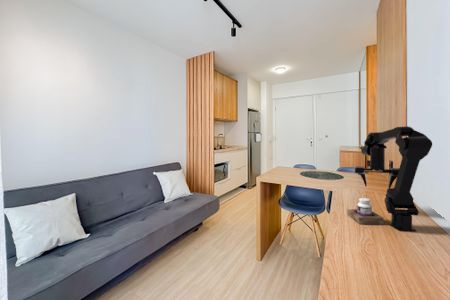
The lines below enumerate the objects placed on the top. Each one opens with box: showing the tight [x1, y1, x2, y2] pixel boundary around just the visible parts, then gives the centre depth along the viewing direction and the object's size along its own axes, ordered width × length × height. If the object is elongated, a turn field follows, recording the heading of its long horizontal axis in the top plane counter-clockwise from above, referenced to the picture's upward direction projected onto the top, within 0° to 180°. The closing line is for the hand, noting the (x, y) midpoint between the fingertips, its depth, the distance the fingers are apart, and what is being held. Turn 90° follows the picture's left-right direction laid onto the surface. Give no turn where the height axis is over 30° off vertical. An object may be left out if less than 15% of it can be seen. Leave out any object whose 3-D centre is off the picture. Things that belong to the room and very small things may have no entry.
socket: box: [346, 208, 385, 225], centre depth 89 cm, size 10×10×3 cm
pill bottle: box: [356, 197, 373, 216], centre depth 89 cm, size 5×5×10 cm
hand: (377, 187), depth 97 cm, fingers open, 9 cm apart
